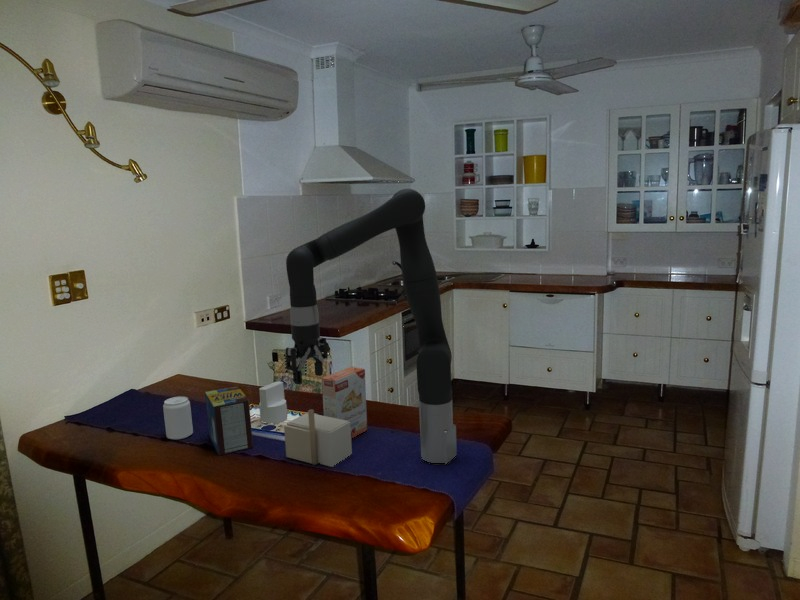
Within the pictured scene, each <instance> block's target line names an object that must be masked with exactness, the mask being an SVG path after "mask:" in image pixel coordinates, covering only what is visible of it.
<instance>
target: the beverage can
mask: <svg viewBox="0 0 800 600" xmlns="http://www.w3.org/2000/svg"><path fill="white" fill-rule="evenodd" d="M162 409H163V419H164V426H165V436H166V438H167V439H170V440H183V439H186V438H189V436H191V435H192V434H193V433H194V427H193V419H192V409H191V401H190V400H189V397H187V396H174V397H170V398H167V399H166V400H164V402H163V405H162Z"/></svg>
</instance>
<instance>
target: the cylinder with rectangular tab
mask: <svg viewBox="0 0 800 600" xmlns="http://www.w3.org/2000/svg"><path fill="white" fill-rule="evenodd" d="M258 389H259V390H258V391H259V401H260V402H259V403H258V404H259V405H258V406H259V415H260V416H259V418H260V422H261V421H263V422H266V423H277V424H280V422H281V423H284V422H285V421H287V420H288V418H287V417H288V405H287V400H286V399H285V398H286V397H285V390H284V389H285V388H284V382H283V381H278V380H277V381H275V382H271V383H269V384H267V385H264V386H262V387H260V388H258Z"/></svg>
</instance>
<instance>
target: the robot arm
mask: <svg viewBox="0 0 800 600" xmlns="http://www.w3.org/2000/svg"><path fill="white" fill-rule="evenodd" d="M425 210H426V202H425V198H424V197H423V195H422V194H421V193H420V192H418V191H417V190H415V189H412V188H403V189H401V190H399V191H396V192H395V193H394V194H393V195H392V196H391V198H390V199H388V200H387V201H385V202H384V203H382V204H381V205H380V206H378V207H376V208H375V209H373V210H371V211H370V212H368V213H366V214H364V215H361V216H360V217H357V218H355V219H352V220H349V221H348V222H344V223H343V224H341V225H339V226H337V227H335V228H333V229H331V230H329V231H327V232H325V233H323V234H322V235H320V236H319V237H318V238H315V239H312V240H311V241H308V242H305V243H303V244H301V245H299V246H297V247H295V248H294V249H292V250H291V251H290V252H289V253H288V254H287V256H286V258H285V259H286V260H285V265H286V274H287V280H288V281H287V282H288V285H289V303H290V314H289V316H290V317H289V318H290V327H291V328H290V331H291V339H292V340H293V342H294V346H293V347H285V367H286V368H285V369H286V370H287V371H292V377H293V378H292V380H293V382H294V384H295V385H299V386H300V385H303V376H302V375H303V374H302V368H303V365H305V363H306V361H307V360H309V359H313V361H314V364H313V365H314V375H315V376H317V377H321V376H323V373H324V364H323V363H324V361H325V360H326V359H328V357H329V356H328V346H327V339H326V337H321V333H320V332H321V331H320V316H319V309H318V302H317V301H318V300H317V289H316V286H315V278H314V275H315V274H314V268H316V267H318V266H320V265H322V264H324V263H325V262H327V261H331V260H334V259H336V258H338V257H340V256H341V257H342V256H343V255H344V254H346V253H348V252H350V251H352V250H354V249H356V248H358V247H359V246H361V245H363V244H364V243H366V242H368V241H370V240H372V239H373V238H375V237H377V236H379V235H381V234H383V233H385V232H388V231H390V230H394V229H395V232H396V236H397V240H398V244H399V254H400V257H399V258H400V267H401V268H400V269H401V274H402V283H403V288H404V293H405V296H406V300H407V304H408V307H409V309H410V311H411V314H412V316H413V319H414V322H415V325H416V329H417V330H416V331H417V336H418V348H419V350H418V353H417V357H416V364H415V366H416V385H417V393H418V407H419V409H418V411H419V432H420V433H419V435H420V458H421V457H422V458H421V460H422V459H423V460H425V461H427V462H431V463H445V464H444V465H446V464H447V463H448V462H449V463H451V462H452V461H453V460H454V459H455V458H456V457H455V456H456V455H457V456H458V453H457V452H458V451H457V424H454V421H453V420H454V419H453V418H454V417H453V416H454V414H453V412H454V411H453V409H454V408H453V389H452V364H451V363H452V358H453V355H452V352H451V348H450V344H449V341H448V339H447V334H446V332H445V331H446V330H445V327H444V323H443V317H442V303H441V295H440V294H441V293H440V286H439V280H438V276H437V270H436V267H435V264H434V260H433V258H432V254H431V252H430V249H429V245H428V244H427V240H426V235H425V227H424V226H425V225H424V214H425V212H426V211H425ZM454 457H455V458H454ZM453 458H454V459H453ZM452 459H453V460H452ZM423 460H422V461H423ZM451 460H452V461H451ZM450 461H451V462H450ZM449 463H448V464H449ZM448 464H447V465H448Z"/></svg>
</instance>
